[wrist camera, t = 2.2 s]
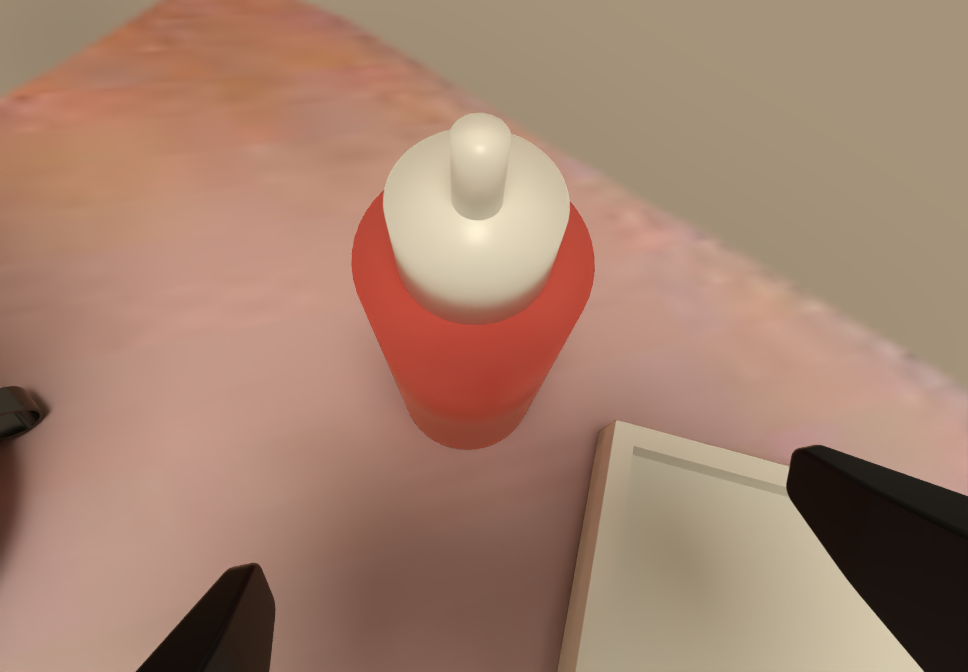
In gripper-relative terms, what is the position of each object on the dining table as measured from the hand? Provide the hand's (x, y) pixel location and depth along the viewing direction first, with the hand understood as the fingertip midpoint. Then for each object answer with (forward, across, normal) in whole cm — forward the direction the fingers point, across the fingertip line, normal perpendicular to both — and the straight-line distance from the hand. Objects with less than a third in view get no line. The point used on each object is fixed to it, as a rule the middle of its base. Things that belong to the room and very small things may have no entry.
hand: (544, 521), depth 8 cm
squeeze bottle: (+13, 0, +4) cm, 14 cm away
